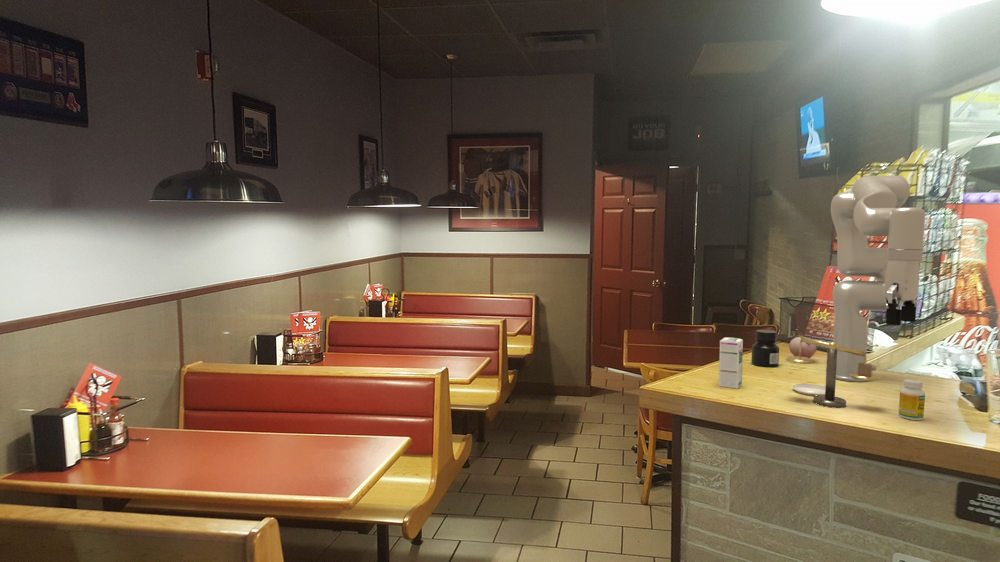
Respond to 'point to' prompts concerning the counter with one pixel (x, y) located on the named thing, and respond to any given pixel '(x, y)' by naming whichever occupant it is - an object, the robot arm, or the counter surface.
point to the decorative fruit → (802, 348)
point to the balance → (834, 370)
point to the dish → (809, 389)
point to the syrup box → (730, 362)
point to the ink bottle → (765, 349)
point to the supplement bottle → (912, 400)
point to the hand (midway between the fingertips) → (900, 323)
